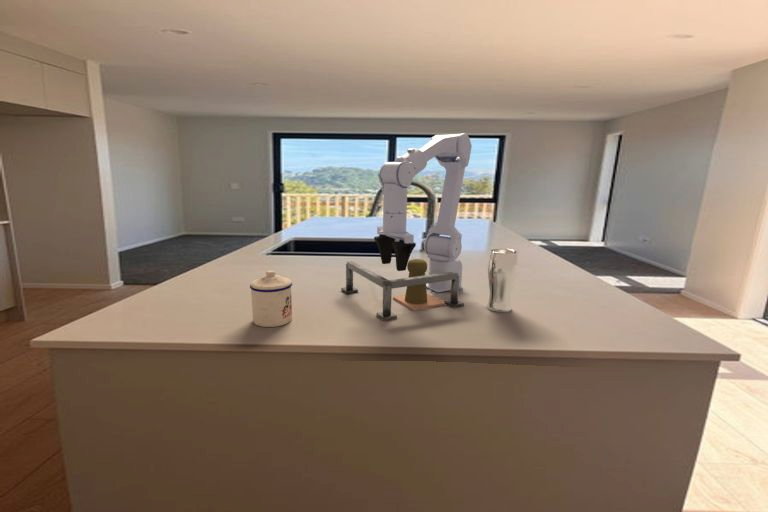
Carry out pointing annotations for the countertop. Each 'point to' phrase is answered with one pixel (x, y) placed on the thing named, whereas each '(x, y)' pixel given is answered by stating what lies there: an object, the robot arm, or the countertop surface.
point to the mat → (430, 303)
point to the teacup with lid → (271, 300)
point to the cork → (416, 292)
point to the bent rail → (398, 283)
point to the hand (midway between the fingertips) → (393, 266)
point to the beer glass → (501, 278)
